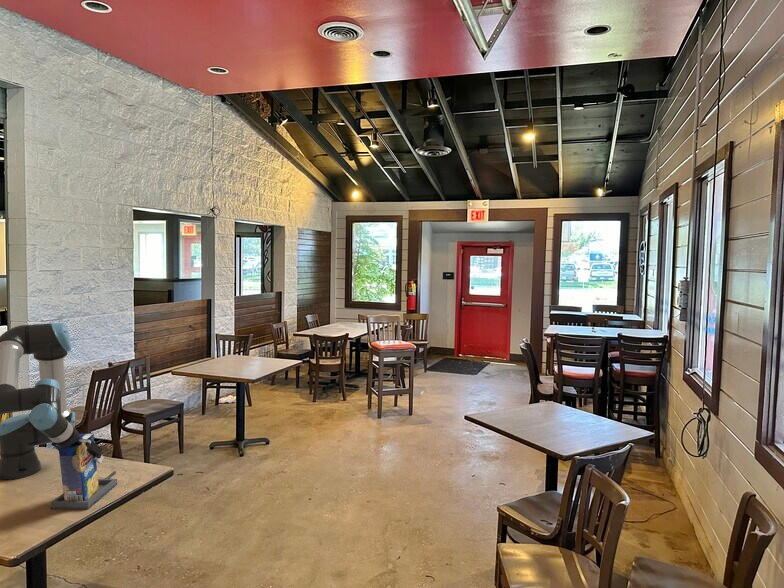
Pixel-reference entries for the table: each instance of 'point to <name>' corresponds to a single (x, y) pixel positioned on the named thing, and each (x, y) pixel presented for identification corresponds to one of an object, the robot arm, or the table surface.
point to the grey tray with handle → (103, 489)
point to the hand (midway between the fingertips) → (91, 460)
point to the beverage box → (78, 471)
